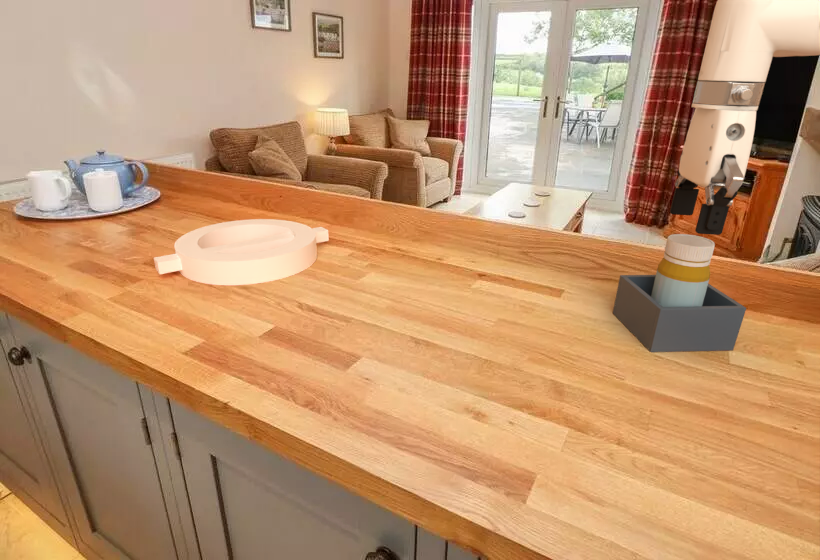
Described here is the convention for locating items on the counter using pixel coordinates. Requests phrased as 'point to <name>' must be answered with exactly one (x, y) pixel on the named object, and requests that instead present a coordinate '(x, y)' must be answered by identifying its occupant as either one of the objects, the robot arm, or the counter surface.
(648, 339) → the box
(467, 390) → the counter surface
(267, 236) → the peach handled dish
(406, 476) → the counter surface
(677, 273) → the bottle
